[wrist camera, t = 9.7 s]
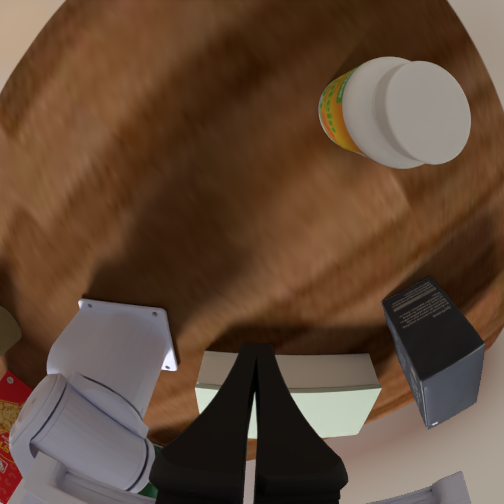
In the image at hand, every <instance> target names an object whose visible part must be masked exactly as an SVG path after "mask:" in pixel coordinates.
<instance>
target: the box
mask: <svg viewBox="0 0 504 504" xmlns="http://www.w3.org/2000/svg"><path fill="white" fill-rule="evenodd" d="M381 303H382V306H383V309H384V312H385V314H384V315H385V317H386V323H387V324H388V328H389V330H390V334H391V336H392V340H393V343H394V346H395V349H396V354H397V356H398V360H399V363H400V365H401V367H402V369H403V372H404V374H405V377H406V379H407V381H408V384H409V386H410V388H411V391H412V393H413V396H414V398H415V400H416V403H417V405H418V408H419V411H420V413H421V416H422V418H423V421H424V423H425V426H426V428H427V429H431V428H433V427H435V426H437V425H439V424H440V423H442V422H444V421H446V420H448V419H449V418H451V417H453V416H455V415H456V414H458V413H460V412H461V411H463V410H465V409H467V408H468V407H470V406H471V405H473V404H474V403H476V401H477V396H478V391H479V385H480V380H481V373H482V367H483V360H484V351H485V342H484V341H483V340H482V339H481V337H480V336H479V334H478V333H477V332H476V330H475V329H474V328H473V326H472V325H471V324H470V323H469V321H468V320H467V319H466V317H465V316H464V315H463V313H462V312H461V311H460V310H459V308H458V307H457V306H456V305H455V304H454V302H453V301H452V300H451V299H450V297H449V296H448V295H447V294H446V292H445V291H444V290H443V289H442V288H441V286H440V285H439V284H438V283H437V282H436V281H435V279H434V278H433V277H432V276H430V277H428V278H426V279H424V280H422V281H420V282H417V283H416V284H414V285H413V286H411V287H409V288H407V289H405V290H404V291H402V292H400V293H398V294H396V295H394V296H392V297H390V298H387V299H385V300H383V301H382V302H381Z"/></svg>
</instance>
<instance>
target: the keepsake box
mask: <svg viewBox="0 0 504 504" xmlns="http://www.w3.org/2000/svg"><path fill="white" fill-rule="evenodd" d="M237 356H238V353H226V352H213V351H204V355H203V359H202V363H201V367H200V371H199V376H198V380H197V383H198V384H207V385H217V386H222V384H223V383H224V381H225V380H226V378H227V376H228V374H229V372H230V370H231V368H232V367H233V365H234V362H235V360H236V358H237ZM275 357H276V360H277V363H278V366H279V369H280V372H281V374H282V376H283V379H284V381H285V383H286V386H287V388H288V389H315V388H339V387H354V386H366V385H376V384H379V382H378V379H377V376H376V373H375V370H374V367H373V364H372V361H371V358H370V355H369V353H364V354H343V355H275Z"/></svg>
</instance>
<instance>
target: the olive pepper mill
mask: <svg viewBox="0 0 504 504" xmlns="http://www.w3.org/2000/svg"><path fill="white" fill-rule="evenodd" d="M21 338H22V333H21V329H20V327H19V325H18V323H17V322H16V320H15V319H14V317H13V316H12V315H11V314H10V313H9V312H8V311H7V310H6V309H5V308H4V307H2V306H0V357H1V356H2V355H3V354H4V353H5V352H6V351H7V350H9V349H10V348H11V347H12V346H13V345H14V344H15V343H16V342H17V341H19V340H20V339H21Z"/></svg>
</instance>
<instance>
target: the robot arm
mask: <svg viewBox="0 0 504 504" xmlns="http://www.w3.org/2000/svg"><path fill="white" fill-rule="evenodd" d="M78 303H79V306H80V310H79V311H78V313H77V314H76V315H75V316H74V318H73V319H72V320H71V321H70V323H69V324H68V325H67V326H66V328H65V329H64V330H63V332H62V333H61V334H60V336H59V337H58V338H57V340H56V341H55V342H54V344H53V345H52V347H51V349H50V352H49V355H48V360H47V374H48V375H47V376H46V377H45V378H44V379H43V380H42V381H41V382H40V383H39V384H38V385H37V387H36V388H35V389H34V390H33V392H32V393H31V395H30V396H29V398H28V399H27V401H26V402H25V404H24V406H23V407H22V409H21V411H20V413H19V416H18V418H17V420H16V421H15V423H14V424H13V426H12V428H11V431H10V435H9V449H10V453H11V455H12V457H13V459H14V461H15V463H16V465H17V467H18V469H19V471H20V473H21V475H22V477H23V478H22V480H21V482H20V483H19V485H18V486H17V488H16V490H15V491H14V493H13V494H12V496H11V498H10V499H9V501H8V503H7V504H243V498H244V483H245V468H246V453H247V439H248V431H249V425H250V419H251V413H252V407H253V401H254V395H255V402H256V422H257V450H256V469H255V485H254V503H253V504H339V499H340V490H341V489H342V488H343V487H344V486H345V485H346V484H347V483H348V475H347V472H346V469H345V466H344V464H343V461H342V459H341V458H340V457H339V456H338V455H337V454H336V453H335V452H334V451H333V450H332V449H331V448H330V447H329V446H328V445H327V444H326V443H325V442H324V441H323V440H322V439H321V437H320V436H319V435H318V434H317V433H316V431H315V430H314V429H313V428H312V426H311V425H310V424H309V423H308V421H307V420H306V418H305V417H304V415H303V414H302V412H301V411H300V409H299V408H298V406H297V404H296V403H295V401H294V399H293V397H292V396H291V394H290V392H289V390H288V388H287V386H286V383H285V381H284V379H283V376H282V374H281V372H280V369H279V366H278V363H277V360H276V357H275V353H274V347H273V345H272V344H265V343H242V344H241V347H240V350H239V353H238V356H237V358H236V360H235V362H234V365H233V367H232V368H231V370H230V372H229V374H228V376H227V378H226V380H225V381H224V383H223V384H222V386H221V387H220V389H219V391H218V392H217V394H216V395H215V396H214V398H213V399H212V400H211V402H210V403H209V404H208V406H207V407H206V408H205V409H204V410H203V411H202V413H201V414H200V415H199V416H198V417H197V418H196V419H195V420H194V421H193V422H192V423H191V424H190V425H189V426H188V427H187V428H186V429H185V430H184V431H183V432H182V433H181V434H179V435H178V436H177V437H176V438H175V439H173V440H172V441H171V442H169V443H168V444H167V445H166V446H164V447H163V448H162V449H160V451H159V452H158V454H157V456H156V458H155V451H154V447H153V444H152V443H151V442H150V440H149V439H147V438H146V436H147V433H148V430H149V427H148V426H147V425H145V424H144V423H143V419H144V416H145V413H146V410H147V407H148V405H149V402H150V399H151V396H152V393H153V390H154V388H155V385H156V382H157V379H158V377H159V374H160V371H161V369H163V370H170V371H176V370H177V368H178V365H177V361H176V357H175V352H174V348H173V343H172V338H171V334H170V329H169V324H168V318H167V313H166V311H165V310H164V309H162V308H155V307H146V306H137V305H128V304H119V303H111V302H104V301H96V300H89V299H80V300H79V302H78ZM90 304H91V305H90ZM154 312H156V313H157V314H155V313H154ZM149 481H150V482H151V483H152V484H153V485H154V487H155V488H156V489H157V490H158V493H157V497H156V499H154V498H150V497H147V496H143V495H139V494H137V493H138V492H139V491H141V490H142V489H143V488H144V487H145V486H146V485H147V483H148V482H149ZM367 504H471V501H470V497H469V494H468V490H467V487H466V483H465V480H464V476H463V473H462V471H459V472H457V473H455V474H452V475H450V476H447V477H445V478H442V479H440V480H438V481H437V482H435V483H434V484H432V486H429V487H426V488H423V489H421V490H417V491H414V492H411V493H408V494H404V495H401V496H397V497H393V498H389V499H385V500H382V501H376V502H372V503H367Z"/></svg>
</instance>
